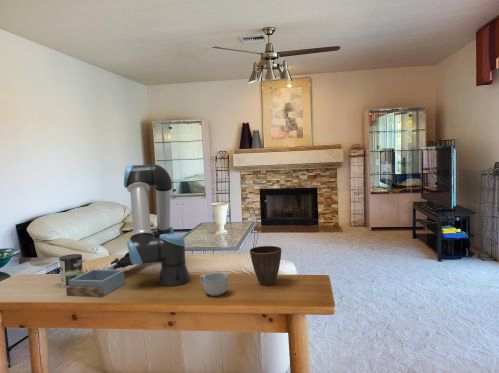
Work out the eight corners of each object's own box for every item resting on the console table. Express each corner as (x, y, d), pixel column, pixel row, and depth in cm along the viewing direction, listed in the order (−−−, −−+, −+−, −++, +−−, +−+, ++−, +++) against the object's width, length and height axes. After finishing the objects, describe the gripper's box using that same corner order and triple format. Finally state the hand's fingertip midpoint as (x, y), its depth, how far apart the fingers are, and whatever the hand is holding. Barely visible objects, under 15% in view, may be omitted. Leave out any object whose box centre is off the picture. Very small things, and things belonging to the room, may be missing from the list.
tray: (125, 283, 182) (124, 270, 181) (103, 295, 165) (102, 281, 165) (93, 282, 186) (93, 269, 185) (69, 294, 169) (68, 280, 168)
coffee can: (88, 281, 189) (86, 253, 189) (74, 287, 179) (72, 259, 179) (70, 280, 192) (68, 253, 191) (56, 287, 181) (54, 258, 181)
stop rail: (104, 296, 165) (103, 287, 165) (101, 297, 163) (101, 288, 163) (69, 294, 169) (68, 286, 169) (66, 296, 167) (66, 287, 167)
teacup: (233, 292, 163) (232, 274, 162) (214, 300, 155) (214, 281, 154) (212, 286, 172) (211, 269, 172) (194, 293, 164) (193, 275, 164)
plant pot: (264, 290, 164) (262, 254, 163) (244, 282, 176) (243, 249, 175) (289, 283, 173) (288, 249, 172) (269, 276, 185) (267, 244, 184)
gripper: (144, 264, 205) (120, 277, 182) (123, 263, 208) (97, 276, 185) (143, 250, 205) (119, 262, 182) (122, 250, 208) (96, 261, 185)
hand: (108, 269), depth 184 cm, fingers closed
